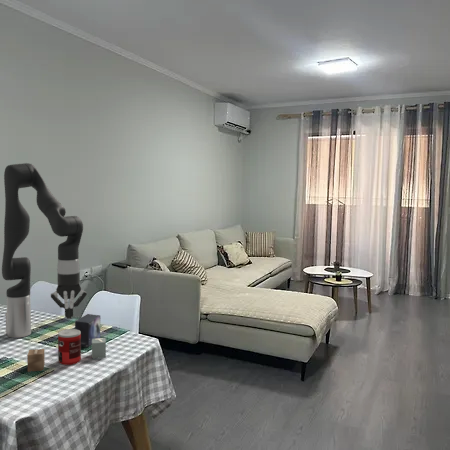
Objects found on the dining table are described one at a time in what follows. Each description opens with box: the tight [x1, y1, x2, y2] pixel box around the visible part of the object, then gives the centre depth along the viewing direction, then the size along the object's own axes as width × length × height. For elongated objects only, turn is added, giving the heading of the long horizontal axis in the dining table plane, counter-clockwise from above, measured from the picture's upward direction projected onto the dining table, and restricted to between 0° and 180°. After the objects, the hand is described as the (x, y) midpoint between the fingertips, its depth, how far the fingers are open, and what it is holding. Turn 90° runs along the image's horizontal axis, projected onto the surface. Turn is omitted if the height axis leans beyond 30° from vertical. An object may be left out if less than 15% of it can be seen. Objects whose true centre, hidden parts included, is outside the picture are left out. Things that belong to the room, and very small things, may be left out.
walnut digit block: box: [26, 348, 45, 373], centre depth 159 cm, size 5×5×6 cm
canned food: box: [57, 328, 82, 366], centre depth 165 cm, size 8×8×11 cm
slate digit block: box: [91, 337, 107, 360], centre depth 171 cm, size 5×5×6 cm
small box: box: [74, 313, 101, 348], centre depth 184 cm, size 11×6×10 cm, turn 168°
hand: (69, 318), depth 164 cm, fingers closed
